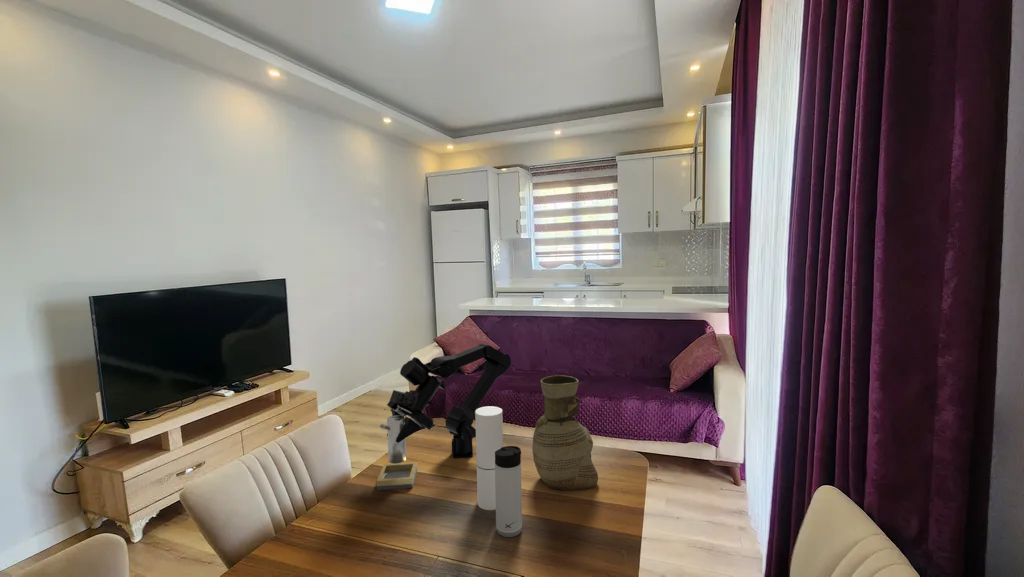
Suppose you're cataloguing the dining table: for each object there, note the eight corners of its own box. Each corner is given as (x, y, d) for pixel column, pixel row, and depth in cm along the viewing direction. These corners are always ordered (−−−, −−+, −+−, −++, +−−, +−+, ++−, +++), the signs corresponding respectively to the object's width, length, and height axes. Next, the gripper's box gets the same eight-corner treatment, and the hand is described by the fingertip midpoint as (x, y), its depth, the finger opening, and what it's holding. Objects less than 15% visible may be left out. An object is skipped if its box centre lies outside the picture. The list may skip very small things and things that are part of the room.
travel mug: (512, 542, 96) (511, 457, 95) (490, 531, 100) (489, 449, 99) (528, 527, 101) (527, 447, 100) (506, 518, 105) (505, 440, 103)
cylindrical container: (505, 495, 115) (503, 406, 113) (502, 510, 108) (500, 416, 106) (480, 494, 116) (477, 406, 114) (475, 509, 109) (472, 415, 107)
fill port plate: (417, 470, 130) (416, 462, 129) (412, 487, 120) (412, 478, 120) (384, 472, 129) (383, 464, 129) (376, 490, 119) (376, 481, 119)
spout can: (400, 453, 127) (399, 413, 127) (409, 459, 124) (407, 418, 123) (378, 462, 122) (376, 420, 122) (386, 468, 119) (384, 425, 118)
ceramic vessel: (603, 466, 130) (602, 371, 128) (593, 503, 110) (592, 392, 109) (544, 457, 137) (542, 367, 135) (524, 491, 117) (522, 386, 115)
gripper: (391, 373, 132) (358, 417, 125) (422, 385, 118) (388, 435, 111) (414, 392, 138) (384, 435, 131) (447, 405, 124) (415, 454, 117)
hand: (392, 439), depth 122 cm, fingers closed on spout can, 5 cm apart
